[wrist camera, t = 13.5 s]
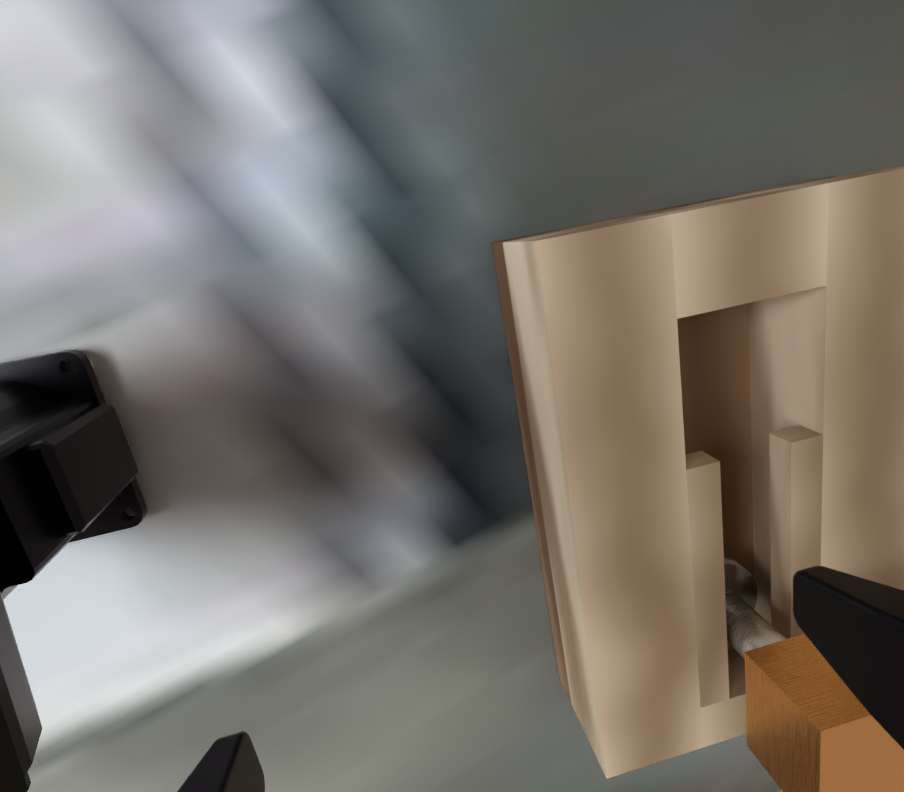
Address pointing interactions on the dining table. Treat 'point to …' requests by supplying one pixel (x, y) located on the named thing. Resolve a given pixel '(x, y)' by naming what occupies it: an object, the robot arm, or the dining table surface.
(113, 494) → the robot arm
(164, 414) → the dining table surface
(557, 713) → the dining table surface
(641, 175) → the dining table surface
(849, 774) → the peg
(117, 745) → the dining table surface
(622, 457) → the keyhole track
